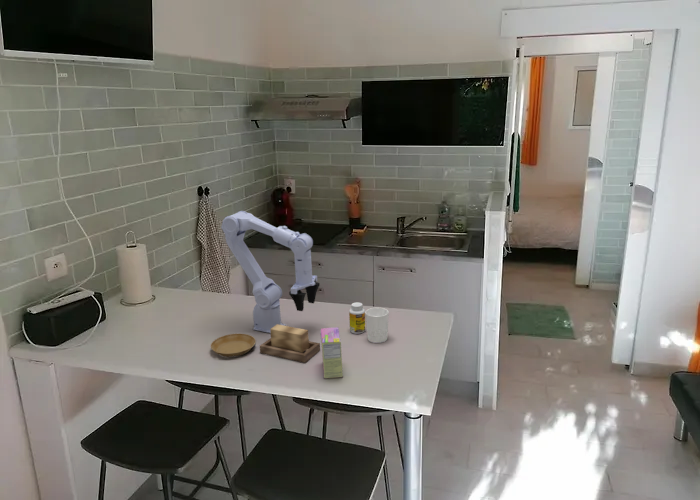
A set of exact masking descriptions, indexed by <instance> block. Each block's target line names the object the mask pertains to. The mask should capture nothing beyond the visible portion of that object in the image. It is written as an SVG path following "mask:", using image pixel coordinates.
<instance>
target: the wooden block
mask: <svg viewBox="0 0 700 500" xmlns="http://www.w3.org/2000/svg"><path fill="white" fill-rule="evenodd" d="M270 332H271V333H270V338H271V344H272V346H276V347H280V348H285V349H290V350H294V351H299V352H304V351H305V350H306V349H307V348H309V341H310V339H309V330H308V329H304V328H298V327H293V326H288V325H286V326H284V325H278V324H277V325H275V326H274V327H272V328H271V329H270Z"/></svg>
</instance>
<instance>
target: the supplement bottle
mask: <svg viewBox="0 0 700 500" xmlns="http://www.w3.org/2000/svg"><path fill="white" fill-rule="evenodd" d="M365 311H366V309H365V308H364V307H363V303H362V302H353V303H351V307H350V308H349V312H348V314H349V317H348V318H349V332H350V333H352V334H353V335H354V334H356V335H359V334H363V333H364V332H365V331H366V316H365Z"/></svg>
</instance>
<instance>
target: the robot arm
mask: <svg viewBox="0 0 700 500" xmlns="http://www.w3.org/2000/svg"><path fill="white" fill-rule="evenodd" d="M220 228H221V231H222V232H223V234H224V238H225V242H226V245H227V246H228V248H229V249H230V251H231V253H232V254H233V256H234V258H235V259H236V260H237V262H238V264H239V265H240V267H241V269H242V270H243V272H244V273H245V275H246V277H247V278H248V280H250V283H251V284H252V286H253V287H252V294H253V296H254V301H255V305H254V307H253V310H252V318H253V328H252V330H254V331H258V332H261V333H262V332H264V333H269V334H271V332H270V329H271V328H272V327H274V326H275V325H277V324H278V325H284V326H287V324H286V323H282V317H281V315H282V314H281V304H280V299H282V296H283V290H282V288H281V287H280V285H278V284H277V283H275V281H274V279H272V278H270V277H268V276H266V274H265V273H264V270H263V269H262V267H261V266H260V264H259V263H258V262H257V259H256V257H254V255H253V254H252V252H251V251H250V249H249V247H248V245H247V244H246V243H245V241H244V238H245V234H246V232H247V231H249V230H254V231H255V232H259V233H262V234H264V235H267V236H270V237H272V239H273V241H274V242H276V243H277V244H279V245H282V246H285V247H287V248H289V249H290V251H291V252H292V253H293V254H294V256H293V257H294V269H295V270H294V271H295V273H294V274H295V282H294V283H293V285H292V287H290V291H289V292H288V293H289V296H290V297H291V299H292V300H293V302H294V303H293V304H295V309H296V311H297V312H298V311H299V312H303V311H304V305H305V303H304V301H305V298H307V302H308V303H309V304H314V303H315V302H316V301H315V300H316V296H317V292H318V290H319V287H320V286H321V285H320V282H318V275H314V274H313V266H312V250H311V249H312V247H313V245H314V240H313V238H312V236H310V235H309V234H307V233H306V232H304V233H300V232H299V231H294V230H291V229H289V228H288V226H286V225H279V226H278V227H276V226H274V225H272V224H270V223H267V222H266V221H264V220H263V219H260V218H258V217H257V216H254V215H253V214H252V213H251V212H247V211H245V210H240V211H239V210H238V211H237V212H235V213H234V214H231V215H228V216H225V217H224V218H223V219H222V223H221V226H220ZM303 289H305V292H302V290H303Z"/></svg>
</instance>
